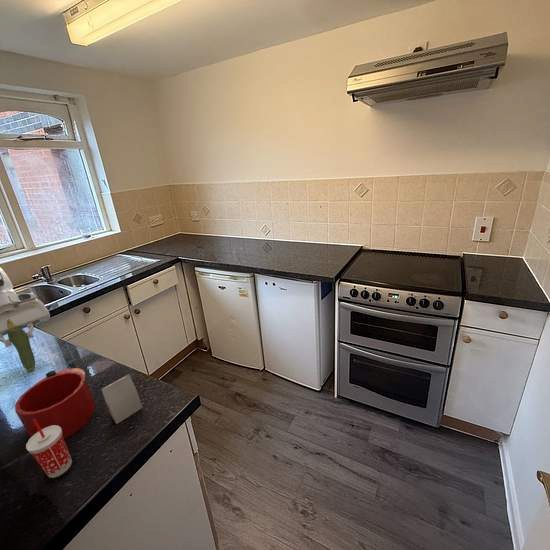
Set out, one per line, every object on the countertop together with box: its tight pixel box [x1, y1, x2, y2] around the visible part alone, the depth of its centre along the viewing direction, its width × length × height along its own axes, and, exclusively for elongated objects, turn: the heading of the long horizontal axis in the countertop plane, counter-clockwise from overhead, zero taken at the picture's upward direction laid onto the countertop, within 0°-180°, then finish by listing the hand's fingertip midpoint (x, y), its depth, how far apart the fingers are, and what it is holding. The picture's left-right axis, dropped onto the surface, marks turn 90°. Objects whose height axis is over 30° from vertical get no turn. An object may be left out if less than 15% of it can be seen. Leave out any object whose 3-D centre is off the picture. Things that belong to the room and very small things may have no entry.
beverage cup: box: [25, 419, 73, 479], centre depth 63 cm, size 6×6×14 cm
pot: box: [14, 371, 97, 439], centre depth 77 cm, size 15×15×10 cm
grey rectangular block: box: [100, 374, 144, 425], centre depth 77 cm, size 4×7×10 cm, turn 135°
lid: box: [34, 367, 87, 385], centre depth 90 cm, size 16×16×6 cm
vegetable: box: [7, 319, 36, 372], centre depth 98 cm, size 4×4×20 cm
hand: (20, 341), depth 97 cm, fingers closed on vegetable, 4 cm apart
